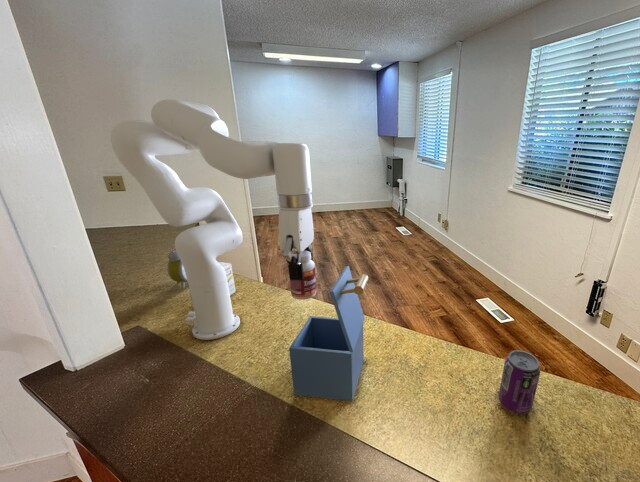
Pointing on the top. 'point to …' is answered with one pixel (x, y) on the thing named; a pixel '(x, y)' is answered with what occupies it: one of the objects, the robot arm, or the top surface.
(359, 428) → the top surface
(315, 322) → the chest
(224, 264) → the ink box
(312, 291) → the pill bottle
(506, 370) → the beverage can
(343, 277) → the lid
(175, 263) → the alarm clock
